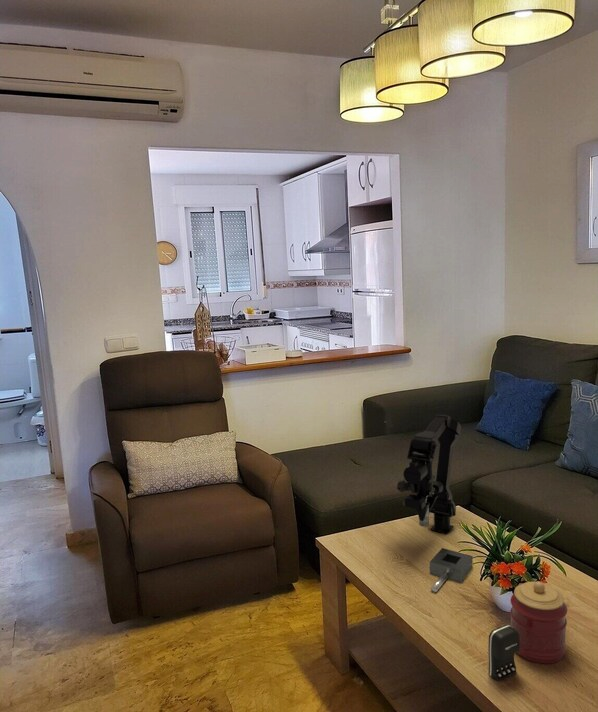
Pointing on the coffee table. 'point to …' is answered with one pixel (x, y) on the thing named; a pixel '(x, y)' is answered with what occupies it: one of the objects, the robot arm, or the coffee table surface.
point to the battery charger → (503, 651)
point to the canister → (539, 622)
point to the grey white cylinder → (426, 519)
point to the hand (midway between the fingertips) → (423, 518)
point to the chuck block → (450, 567)
